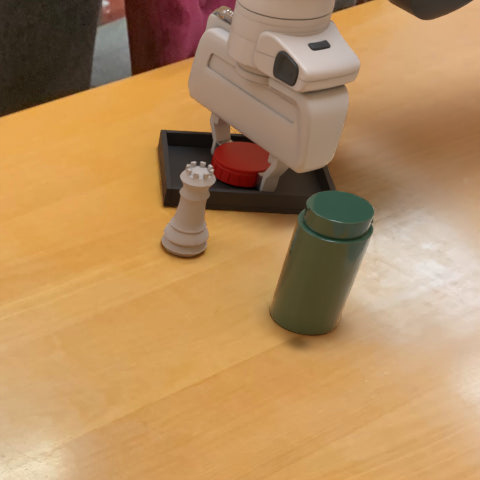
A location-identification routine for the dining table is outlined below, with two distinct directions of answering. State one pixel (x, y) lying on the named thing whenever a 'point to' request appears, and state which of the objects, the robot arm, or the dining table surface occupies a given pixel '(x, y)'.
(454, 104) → the dining table surface
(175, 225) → the rook chess piece
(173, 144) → the tray
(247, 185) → the lid
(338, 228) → the jar
